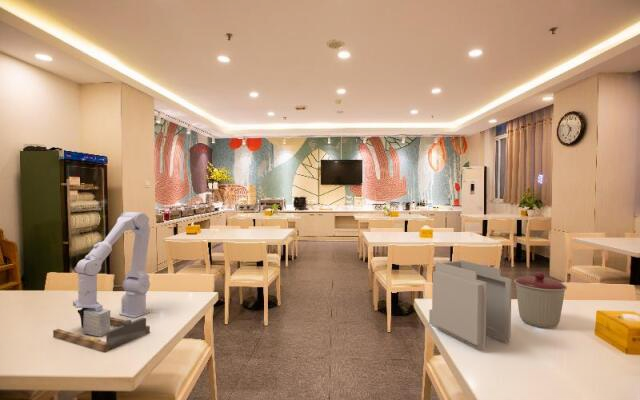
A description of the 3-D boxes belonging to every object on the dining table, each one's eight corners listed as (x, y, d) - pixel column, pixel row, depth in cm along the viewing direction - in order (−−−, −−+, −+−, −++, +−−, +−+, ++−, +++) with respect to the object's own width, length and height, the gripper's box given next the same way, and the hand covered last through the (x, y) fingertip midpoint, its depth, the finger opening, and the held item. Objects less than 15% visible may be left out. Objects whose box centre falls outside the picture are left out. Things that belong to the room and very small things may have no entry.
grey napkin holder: (454, 318, 141) (455, 257, 141) (514, 344, 117) (515, 270, 116) (423, 325, 134) (423, 260, 133) (479, 354, 110) (480, 275, 109)
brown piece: (53, 337, 120) (53, 317, 119) (100, 320, 135) (100, 303, 135) (105, 352, 108) (105, 330, 108) (150, 332, 124) (150, 313, 124)
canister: (560, 319, 141) (561, 270, 141) (571, 335, 125) (572, 279, 124) (511, 312, 149) (512, 265, 148) (515, 327, 132) (516, 274, 132)
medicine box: (109, 332, 124) (111, 309, 124) (99, 337, 120) (100, 313, 119) (93, 328, 126) (94, 306, 126) (82, 333, 122) (83, 310, 121)
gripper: (64, 291, 124) (63, 327, 124) (88, 296, 118) (88, 334, 118) (84, 286, 130) (83, 321, 130) (108, 291, 124) (107, 328, 124)
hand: (86, 327), depth 125 cm, fingers closed, pressing on medicine box
